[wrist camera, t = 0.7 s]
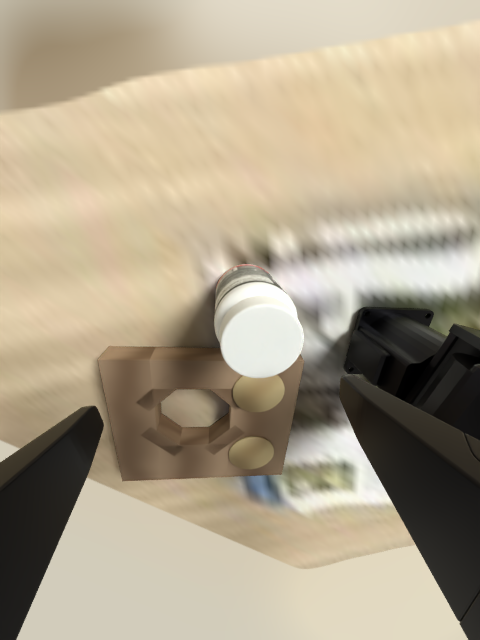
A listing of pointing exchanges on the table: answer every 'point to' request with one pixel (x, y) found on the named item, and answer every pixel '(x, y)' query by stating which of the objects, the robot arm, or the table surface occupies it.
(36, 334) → the table surface
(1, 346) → the table surface
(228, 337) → the pill bottle
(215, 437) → the pin board
